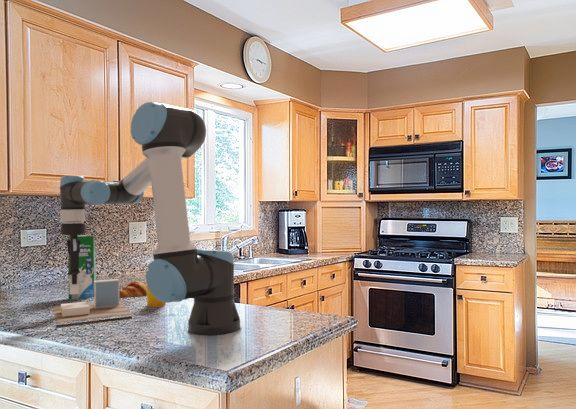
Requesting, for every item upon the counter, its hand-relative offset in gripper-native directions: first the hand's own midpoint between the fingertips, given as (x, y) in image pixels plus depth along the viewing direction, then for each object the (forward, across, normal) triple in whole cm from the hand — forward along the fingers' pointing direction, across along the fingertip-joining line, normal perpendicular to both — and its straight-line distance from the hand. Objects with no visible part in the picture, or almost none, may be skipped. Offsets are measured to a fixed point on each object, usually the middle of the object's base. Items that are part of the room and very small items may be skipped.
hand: (74, 293), depth 159 cm
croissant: (+8, +21, -25) cm, 34 cm away
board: (+7, -1, -5) cm, 9 cm away
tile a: (+5, +2, 0) cm, 5 cm away
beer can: (+8, -4, -26) cm, 27 cm away
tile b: (+6, +3, -10) cm, 12 cm away
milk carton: (+8, +30, -5) cm, 31 cm away
